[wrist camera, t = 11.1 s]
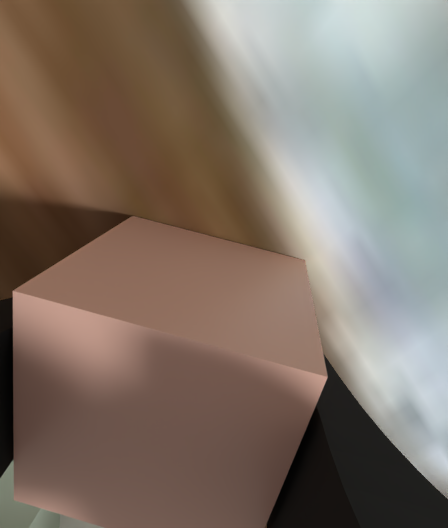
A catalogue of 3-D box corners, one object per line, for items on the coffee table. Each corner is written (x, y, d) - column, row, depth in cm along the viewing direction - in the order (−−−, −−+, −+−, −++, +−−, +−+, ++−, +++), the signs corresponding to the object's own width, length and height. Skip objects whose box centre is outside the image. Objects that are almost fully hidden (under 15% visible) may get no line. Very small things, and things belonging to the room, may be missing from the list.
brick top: (305, 260, 10) (328, 377, 5) (258, 397, 12) (246, 570, 7) (132, 215, 10) (12, 291, 6) (114, 357, 12) (14, 500, 8)
